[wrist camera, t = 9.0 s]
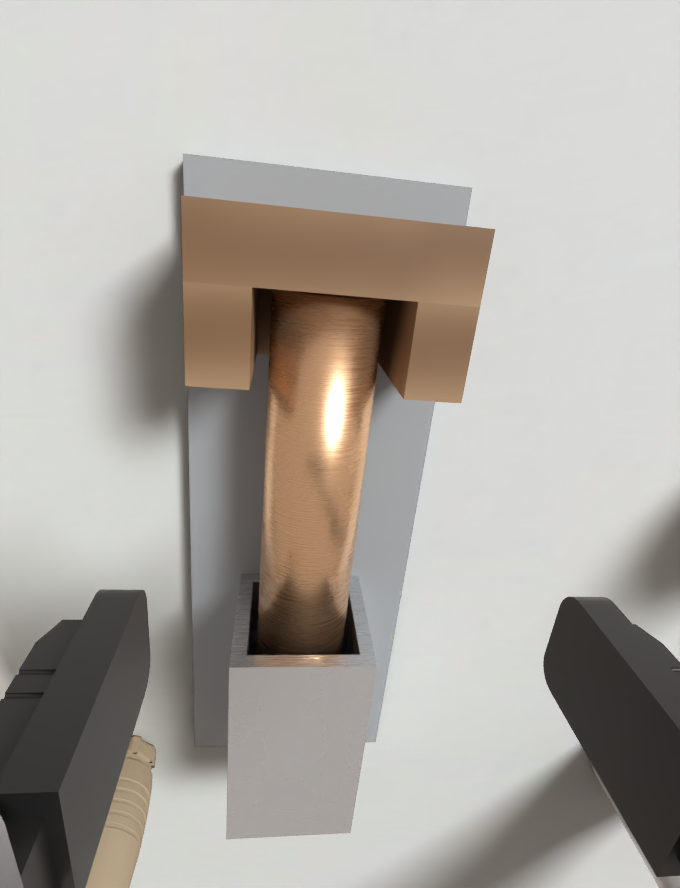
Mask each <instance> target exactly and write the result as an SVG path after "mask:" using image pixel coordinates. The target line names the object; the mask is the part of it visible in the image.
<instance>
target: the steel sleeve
mask: <svg viewBox="0 0 680 888" xmlns="http://www.w3.org/2000/svg"><path fill="white" fill-rule="evenodd" d="M259 583H260V574H242V573H241V577H240V585H239V593H238V601H237V609H236V617H235V625H234V633H233V641H232V649H231V657H230V665H229V707H228V769H227V832H226V839H238V838H258V837H278V836H298V835H318V834H337V833H350V831H351V825H352V819H353V813H354V807H355V801H356V795H357V789H358V782H359V776H360V770H361V764H362V758H363V752H364V746H365V740H366V734H367V727H368V721H369V715H370V709H371V703H372V697H373V691H374V685H375V678H376V672H377V662H376V657H375V653H374V648H373V643H372V638H371V634H370V629H369V624H368V620H367V615H366V610H365V605H364V601H363V596H362V591H361V587H360V582H359V577H358V575H351V582H350V590H349V597H348V605H347V613H346V621H345V629H344V637H343V645H342V653H341V655H257V630H258V607H259Z"/></svg>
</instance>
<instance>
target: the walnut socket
mask: <svg viewBox="0 0 680 888" xmlns="http://www.w3.org/2000/svg"><path fill="white" fill-rule="evenodd" d="M181 224H182V270H183V316H184V362H185V386H191V387H207V388H224V389H240V390H249V389H250V384H251V379H252V375H253V370H254V365H255V360H256V356H257V354H266V355H269V349H270V326H271V302H272V289H277V290H288V291H300V292H311V293H323V294H334V295H346V296H357V297H369V298H380V299H386V304H385V312H384V320H383V328H382V336H381V344H380V352H379V360H378V363H379V365H380V366H381V367H382V369H383V370H384V372H385V373H386V375H387V376H388V378H389V379H390V381H391V382H392V383H393V385H394V386H395V388H396V389H397V391H398V392H399V394H400V395H401V396H402V398H403V399H404V400H418V401H435V402H451V403H461V401H462V396H463V391H464V386H465V381H466V376H467V371H468V366H469V360H470V355H471V350H472V345H473V340H474V335H475V330H476V325H477V320H478V314H479V309H480V304H481V299H482V294H483V289H484V284H485V279H486V274H487V268H488V263H489V258H490V253H491V248H492V243H493V238H494V233H495V229H487V228H478V227H469V226H460V225H450V224H441V223H432V222H423V221H414V220H404V219H395V218H386V217H377V216H368V215H358V214H349V213H340V212H331V211H321V210H312V209H303V208H294V207H285V206H275V205H266V204H257V203H248V202H238V201H229V200H220V199H211V198H202V197H192V196H183V195H181Z"/></svg>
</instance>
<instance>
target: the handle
mask: <svg viewBox="0 0 680 888" xmlns="http://www.w3.org/2000/svg"><path fill="white" fill-rule="evenodd" d="M155 760H156V749H155V748H154V746H153V745H150V744H148V743H146V742H145V741H143V740H142V739H141V737H139V736H133V737H131V741H130V744H129V747H128V750H127V754H126V757H125V760H124V763H123V767H122V770H121V773H120V776H119V780H118V783H117V786H116V790H115V793H114V796H113V799H112V803H111V806H110V809H109V812H108V816H107V819H106V822H105V825H104V829H103V832H102V835H101V839H100V842H99V845H98V848H97V852H96V855H95V858H94V861H93V865H92V868H91V871H90V874H89V878H88V881H87V884H86V887H85V888H129V887H130V883H131V880H132V876H133V873H134V869H135V866H136V862H137V859H138V855H139V851H140V847H141V843H142V838H143V834H144V829H145V824H146V820H147V813H148V808H149V802H150V796H151V789H152V772H151V769H152V768H154V767H155Z"/></svg>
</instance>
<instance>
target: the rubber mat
mask: <svg viewBox="0 0 680 888" xmlns="http://www.w3.org/2000/svg"><path fill="white" fill-rule="evenodd" d="M183 183H184V196H192V197H202V198H211V199H220V200H229V201H238V202H248V203H257V204H266V205H275V206H285V207H294V208H303V209H312V210H321V211H331V212H340V213H349V214H358V215H368V216H377V217H386V218H395V219H404V220H414V221H423V222H432V223H441V224H450V225H460V226H466V221H467V215H468V209H469V204H470V198H471V192H472V188H469V187H461V186H452V185H444V184H436V183H427V182H419V181H410V180H402V179H394V178H385V177H377V176H368V175H360V174H351V173H343V172H335V171H326V170H318V169H309V168H301V167H293V166H284V165H276V164H267V163H259V162H250V161H242V160H234V159H225V158H217V157H208V156H200V155H192V154H183ZM268 373H269V355H266V354H257V356H256V360H255V365H254V370H253V375H252V379H251V384H250V389H249V390H240V389H224V388H207V387H191V386H188V435H189V486H190V536H191V587H192V637H193V688H194V738H195V747H210V746H228V707H229V665H230V657H231V649H232V641H233V633H234V625H235V617H236V609H237V601H238V593H239V585H240V577H241V573H242V574H260V560H261V537H262V513H263V490H264V466H265V443H266V420H267V396H268ZM434 404H435V401H418V400H404V399H403V398H402V396H401V395H400V394H399V392H398V391H397V389H396V388H395V386H394V385H393V383H392V382H391V381H390V379H389V378H388V376H387V375H386V373H385V372H384V370H383V369H382V367H381V366H380V365H379V363H378V367H377V375H376V383H375V391H374V399H373V407H372V415H371V423H370V431H369V439H368V447H367V455H366V463H365V471H364V478H363V486H362V494H361V502H360V510H359V518H358V526H357V534H356V542H355V550H354V558H353V566H352V574H351V575H358V577H359V582H360V587H361V591H362V596H363V601H364V605H365V610H366V615H367V620H368V624H369V629H370V634H371V638H372V643H373V648H374V653H375V657H376V662H377V672H376V678H375V685H374V691H373V697H372V703H371V709H370V715H369V721H368V727H367V734H366V740H365V742H376V736H377V730H378V725H379V719H380V713H381V708H382V702H383V696H384V690H385V685H386V679H387V673H388V667H389V662H390V656H391V650H392V645H393V639H394V633H395V627H396V622H397V616H398V610H399V604H400V599H401V593H402V587H403V582H404V576H405V570H406V564H407V559H408V553H409V547H410V542H411V536H412V530H413V524H414V519H415V513H416V507H417V501H418V496H419V490H420V484H421V479H422V473H423V467H424V461H425V456H426V450H427V444H428V438H429V433H430V427H431V421H432V416H433V410H434Z"/></svg>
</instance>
